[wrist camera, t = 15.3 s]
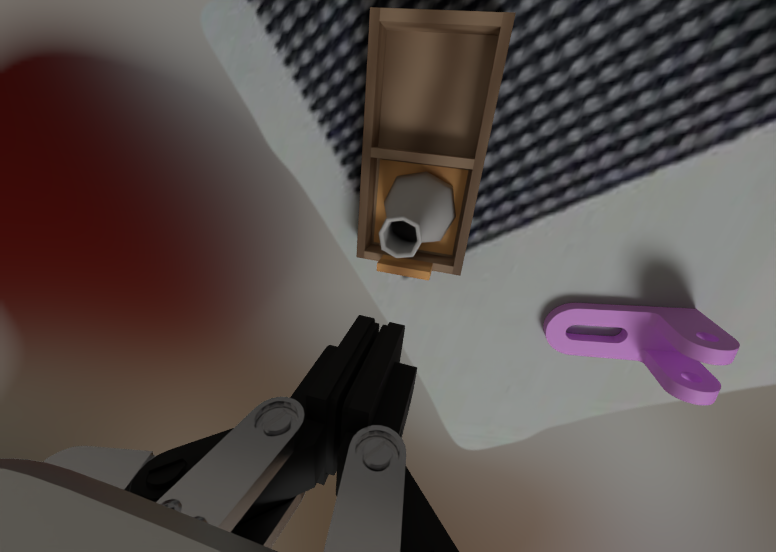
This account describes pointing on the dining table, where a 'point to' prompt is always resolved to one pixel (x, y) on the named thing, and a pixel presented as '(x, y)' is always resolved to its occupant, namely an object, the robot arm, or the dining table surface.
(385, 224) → the flask
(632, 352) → the bracket
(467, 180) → the divided wooden tray
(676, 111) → the dining table surface
